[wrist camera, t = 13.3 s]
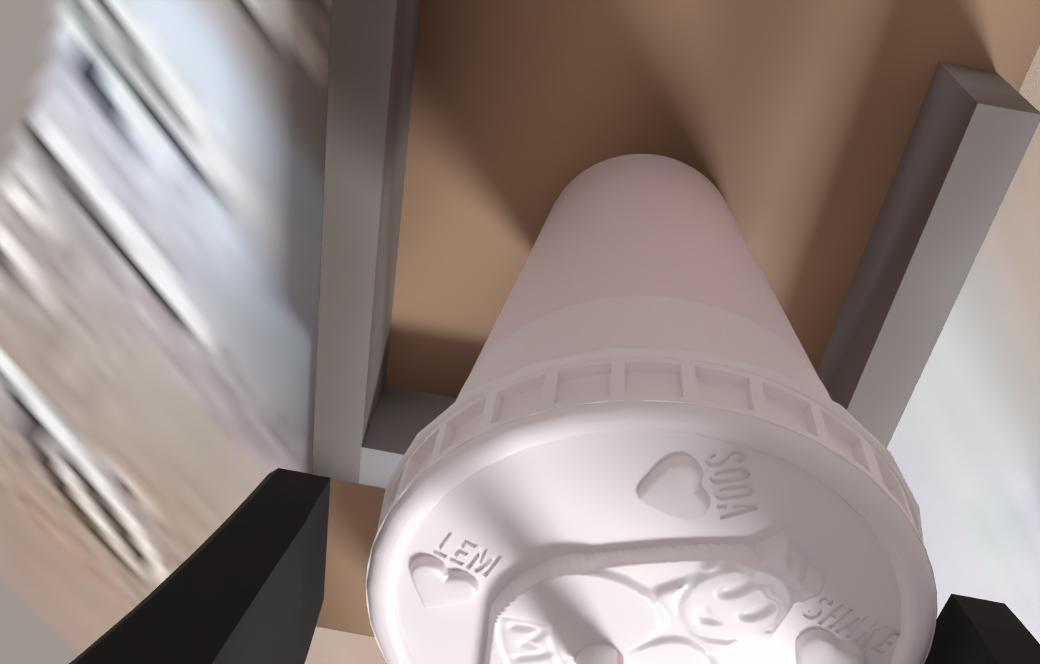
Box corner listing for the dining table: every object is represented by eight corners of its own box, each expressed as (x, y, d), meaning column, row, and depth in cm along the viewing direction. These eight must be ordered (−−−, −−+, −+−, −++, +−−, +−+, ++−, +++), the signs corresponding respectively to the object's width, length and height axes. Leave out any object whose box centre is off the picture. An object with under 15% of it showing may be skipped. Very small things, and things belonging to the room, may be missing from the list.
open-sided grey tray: (1075, -86, 16) (1327, 18, 10) (740, 681, 26) (769, 943, 21) (357, -216, 16) (198, -188, 10) (316, 602, 26) (228, 841, 21)
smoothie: (412, 211, 19) (37, 1006, 7) (683, 6, 16) (810, 724, 4) (604, 423, 21) (566, 1291, 9) (869, 273, 19) (1280, 1213, 7)
